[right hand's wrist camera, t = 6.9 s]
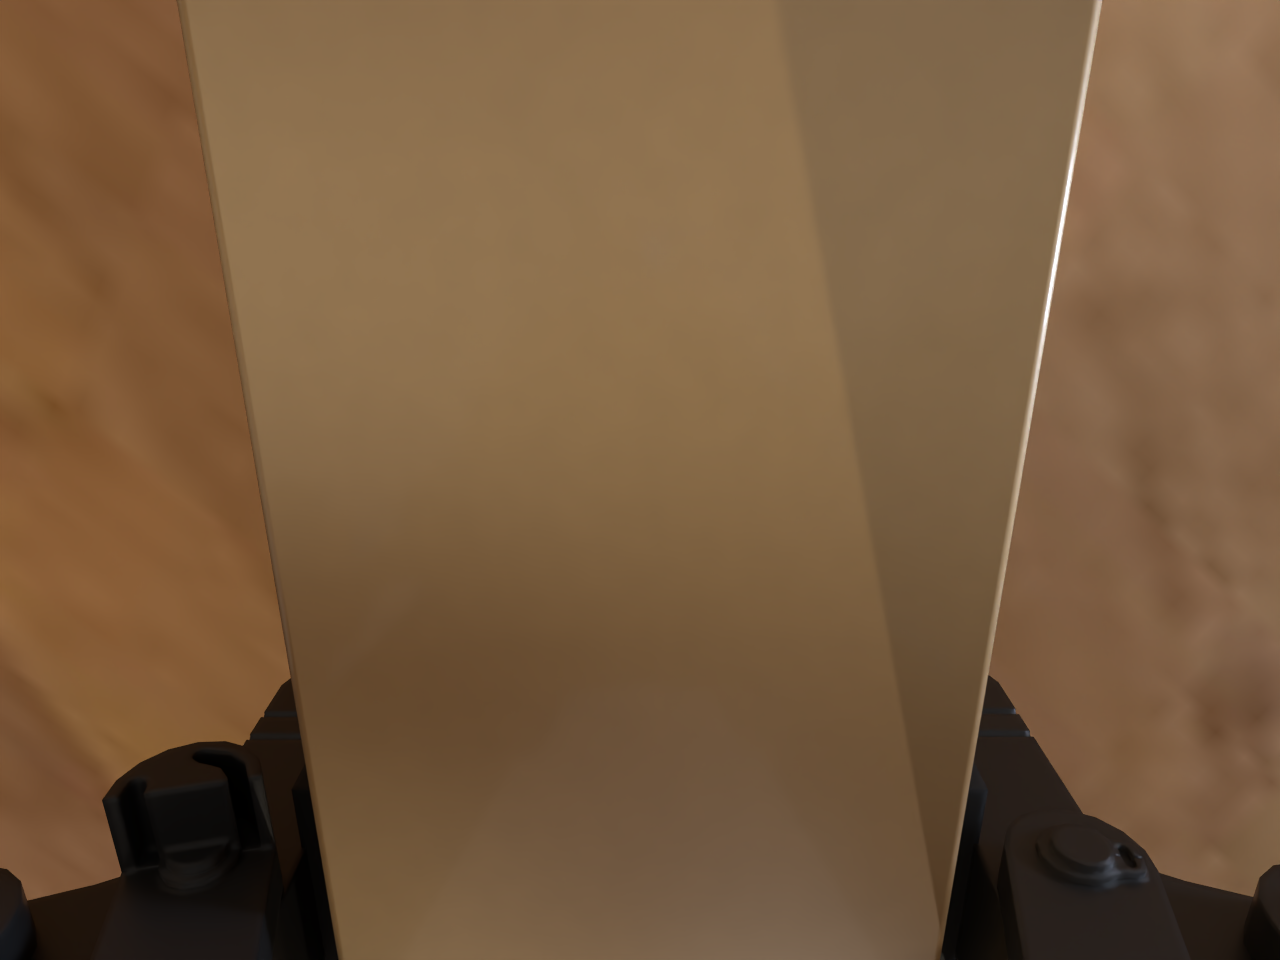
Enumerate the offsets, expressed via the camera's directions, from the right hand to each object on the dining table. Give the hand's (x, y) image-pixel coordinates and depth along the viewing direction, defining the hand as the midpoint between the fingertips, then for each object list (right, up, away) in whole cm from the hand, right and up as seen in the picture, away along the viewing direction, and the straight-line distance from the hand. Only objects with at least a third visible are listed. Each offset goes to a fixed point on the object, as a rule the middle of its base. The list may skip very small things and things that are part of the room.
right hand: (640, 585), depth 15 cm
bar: (0, +24, -9) cm, 26 cm away
